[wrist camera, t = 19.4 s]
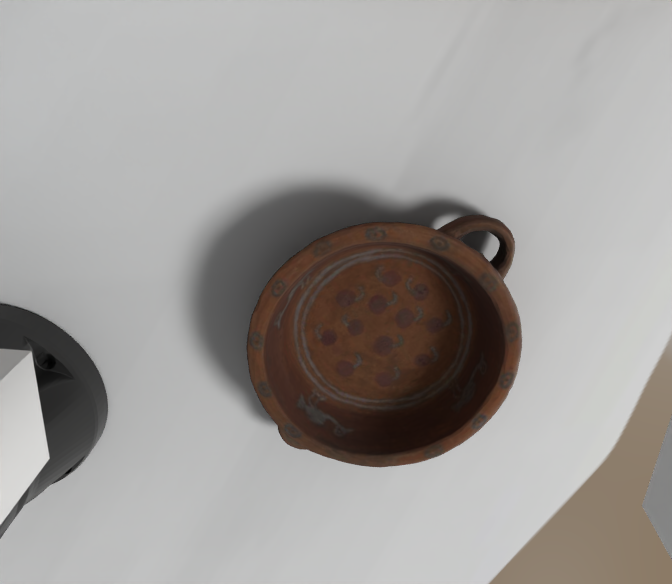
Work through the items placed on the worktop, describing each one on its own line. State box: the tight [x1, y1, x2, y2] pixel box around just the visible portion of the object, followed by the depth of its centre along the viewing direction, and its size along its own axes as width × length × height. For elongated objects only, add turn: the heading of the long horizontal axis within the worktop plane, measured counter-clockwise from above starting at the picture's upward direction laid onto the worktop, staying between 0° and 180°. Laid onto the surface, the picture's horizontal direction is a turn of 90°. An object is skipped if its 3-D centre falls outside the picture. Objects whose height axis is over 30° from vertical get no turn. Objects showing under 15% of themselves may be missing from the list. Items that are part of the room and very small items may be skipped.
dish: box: [247, 215, 522, 467], centre depth 42 cm, size 18×22×5 cm
